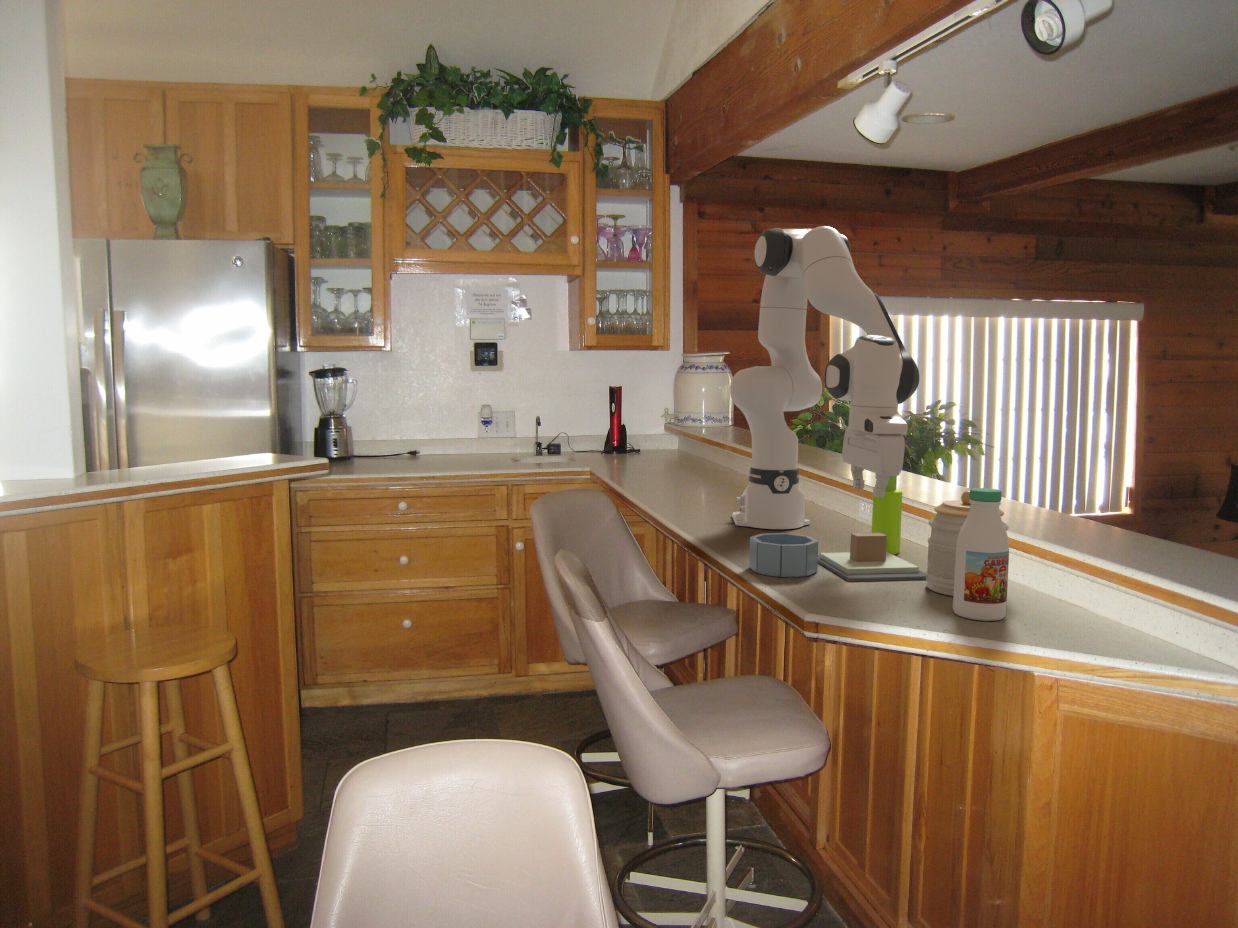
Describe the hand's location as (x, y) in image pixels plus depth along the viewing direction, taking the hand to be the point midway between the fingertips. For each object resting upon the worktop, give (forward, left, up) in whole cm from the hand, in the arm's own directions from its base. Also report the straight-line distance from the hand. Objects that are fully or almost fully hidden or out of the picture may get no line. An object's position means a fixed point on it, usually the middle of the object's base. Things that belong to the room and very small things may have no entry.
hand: (868, 492), depth 167 cm
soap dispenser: (-15, +10, -15) cm, 23 cm away
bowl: (0, -17, -15) cm, 22 cm away
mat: (0, 0, -15) cm, 15 cm away
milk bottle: (+33, +4, -15) cm, 37 cm away
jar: (+18, +10, -15) cm, 26 cm away
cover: (0, 0, -14) cm, 14 cm away
